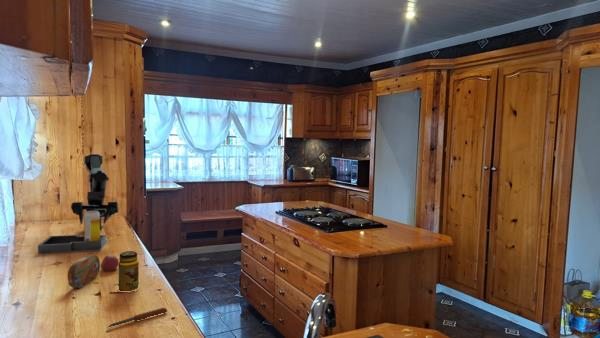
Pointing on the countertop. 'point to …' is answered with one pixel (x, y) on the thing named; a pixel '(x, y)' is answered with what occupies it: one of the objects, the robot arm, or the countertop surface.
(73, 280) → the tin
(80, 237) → the keyhole plate
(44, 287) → the countertop surface
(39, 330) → the countertop surface
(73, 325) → the countertop surface
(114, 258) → the fruit
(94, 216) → the beer can
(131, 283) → the condiment
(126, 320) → the kitchen knife
